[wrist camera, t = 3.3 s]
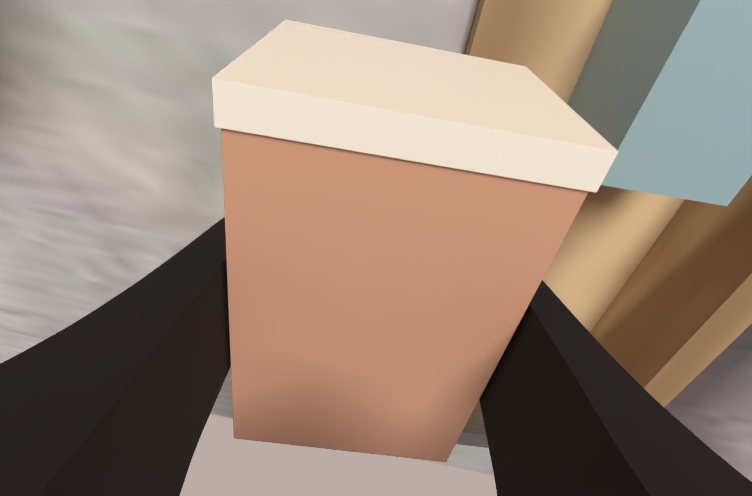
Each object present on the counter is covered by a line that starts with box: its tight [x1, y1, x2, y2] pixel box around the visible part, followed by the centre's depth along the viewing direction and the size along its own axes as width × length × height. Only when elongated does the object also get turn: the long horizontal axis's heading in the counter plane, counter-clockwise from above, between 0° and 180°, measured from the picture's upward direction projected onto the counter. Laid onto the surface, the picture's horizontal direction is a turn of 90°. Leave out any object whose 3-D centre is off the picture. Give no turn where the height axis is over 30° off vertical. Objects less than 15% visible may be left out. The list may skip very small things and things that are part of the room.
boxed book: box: [212, 20, 619, 462], centre depth 9 cm, size 5×8×4 cm, turn 170°
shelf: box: [465, 0, 752, 407], centre depth 17 cm, size 12×20×5 cm, turn 170°
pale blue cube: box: [567, 0, 752, 206], centre depth 12 cm, size 4×5×4 cm
